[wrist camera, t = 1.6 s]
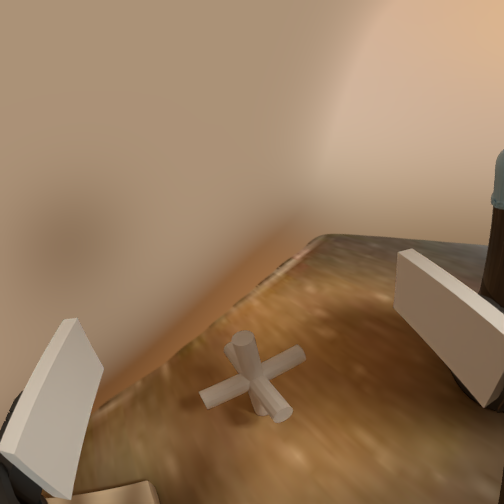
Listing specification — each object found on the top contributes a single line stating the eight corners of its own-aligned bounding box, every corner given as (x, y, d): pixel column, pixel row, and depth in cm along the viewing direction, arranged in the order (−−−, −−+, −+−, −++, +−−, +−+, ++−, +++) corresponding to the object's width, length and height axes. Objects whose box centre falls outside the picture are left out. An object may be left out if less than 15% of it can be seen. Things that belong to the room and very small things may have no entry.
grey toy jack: (201, 398, 30) (169, 329, 26) (280, 360, 33) (266, 288, 29) (240, 467, 21) (206, 408, 17) (333, 415, 25) (333, 342, 21)
